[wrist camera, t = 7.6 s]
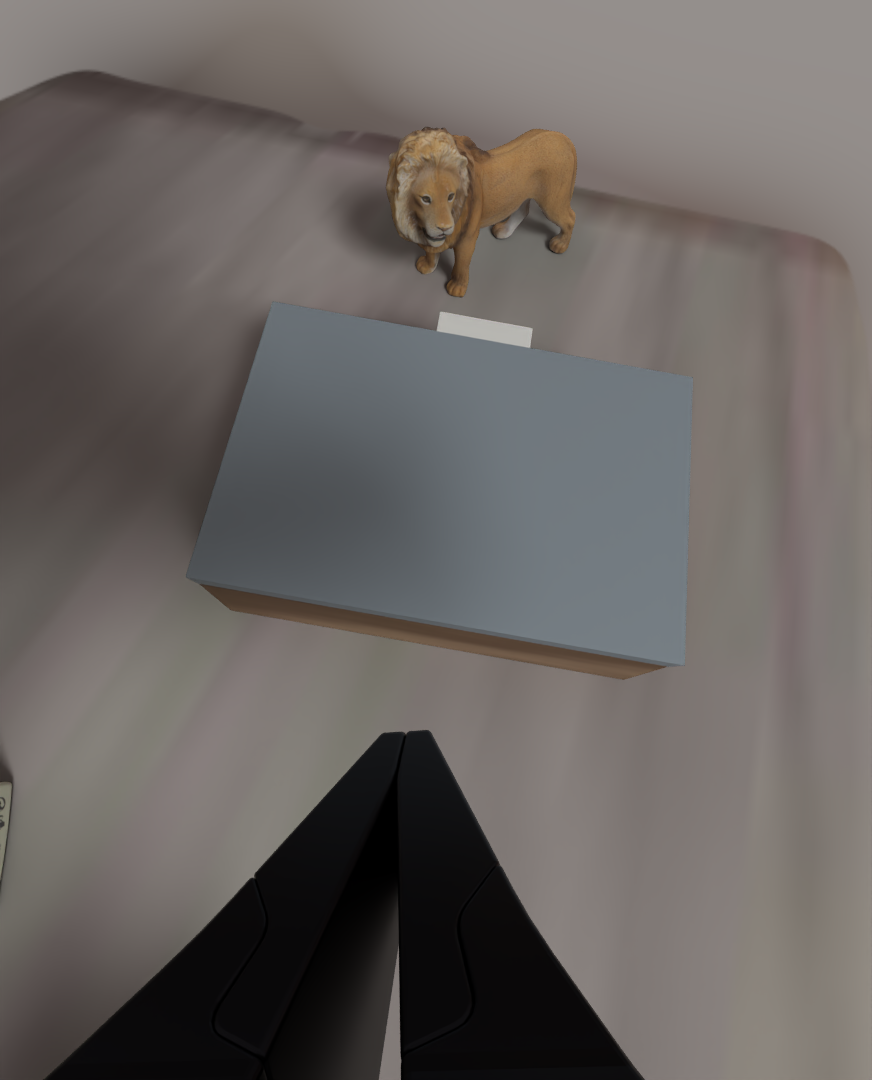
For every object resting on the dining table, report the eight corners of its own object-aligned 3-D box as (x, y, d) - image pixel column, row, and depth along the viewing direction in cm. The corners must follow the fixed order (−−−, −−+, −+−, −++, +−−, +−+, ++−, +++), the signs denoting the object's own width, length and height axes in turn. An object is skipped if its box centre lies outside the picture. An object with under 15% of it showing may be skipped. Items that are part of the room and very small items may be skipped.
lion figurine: (423, 342, 30) (434, 183, 21) (367, 288, 31) (356, 118, 22) (589, 240, 34) (652, 75, 26) (534, 196, 35) (576, 26, 27)
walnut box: (623, 679, 23) (666, 667, 19) (230, 610, 23) (199, 584, 19) (627, 455, 27) (662, 411, 24) (301, 396, 27) (286, 343, 24)
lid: (667, 666, 19) (684, 665, 18) (198, 583, 19) (185, 577, 18) (678, 373, 23) (693, 357, 22) (285, 302, 23) (278, 282, 21)
